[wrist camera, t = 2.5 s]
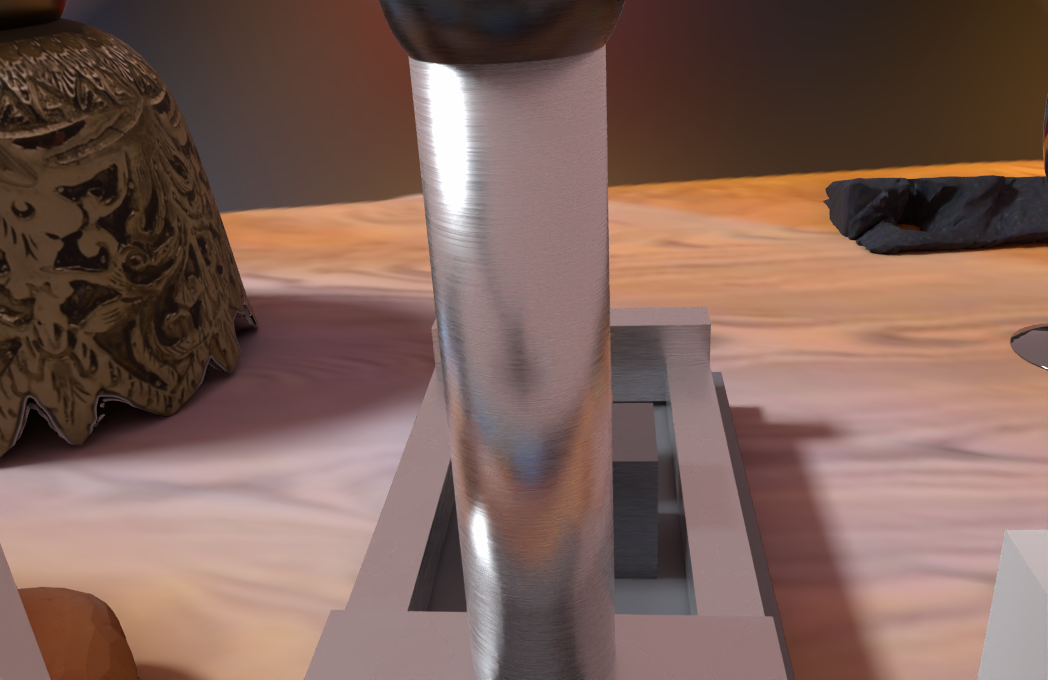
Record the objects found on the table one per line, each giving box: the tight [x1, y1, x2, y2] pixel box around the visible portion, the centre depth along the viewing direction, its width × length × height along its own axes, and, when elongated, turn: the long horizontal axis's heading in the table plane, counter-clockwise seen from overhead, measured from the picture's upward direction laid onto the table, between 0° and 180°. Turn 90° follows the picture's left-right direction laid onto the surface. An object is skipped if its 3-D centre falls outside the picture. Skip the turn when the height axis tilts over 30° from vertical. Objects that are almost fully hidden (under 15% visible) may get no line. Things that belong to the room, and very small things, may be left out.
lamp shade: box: [0, 0, 258, 457], centre depth 52 cm, size 23×23×25 cm
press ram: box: [304, 0, 787, 680], centre depth 31 cm, size 13×24×23 cm, turn 175°
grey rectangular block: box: [611, 403, 658, 579], centre depth 34 cm, size 7×4×5 cm, turn 85°
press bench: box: [345, 372, 795, 680], centre depth 36 cm, size 15×28×2 cm, turn 175°
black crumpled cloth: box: [823, 175, 1048, 254], centre depth 71 cm, size 15×22×5 cm
